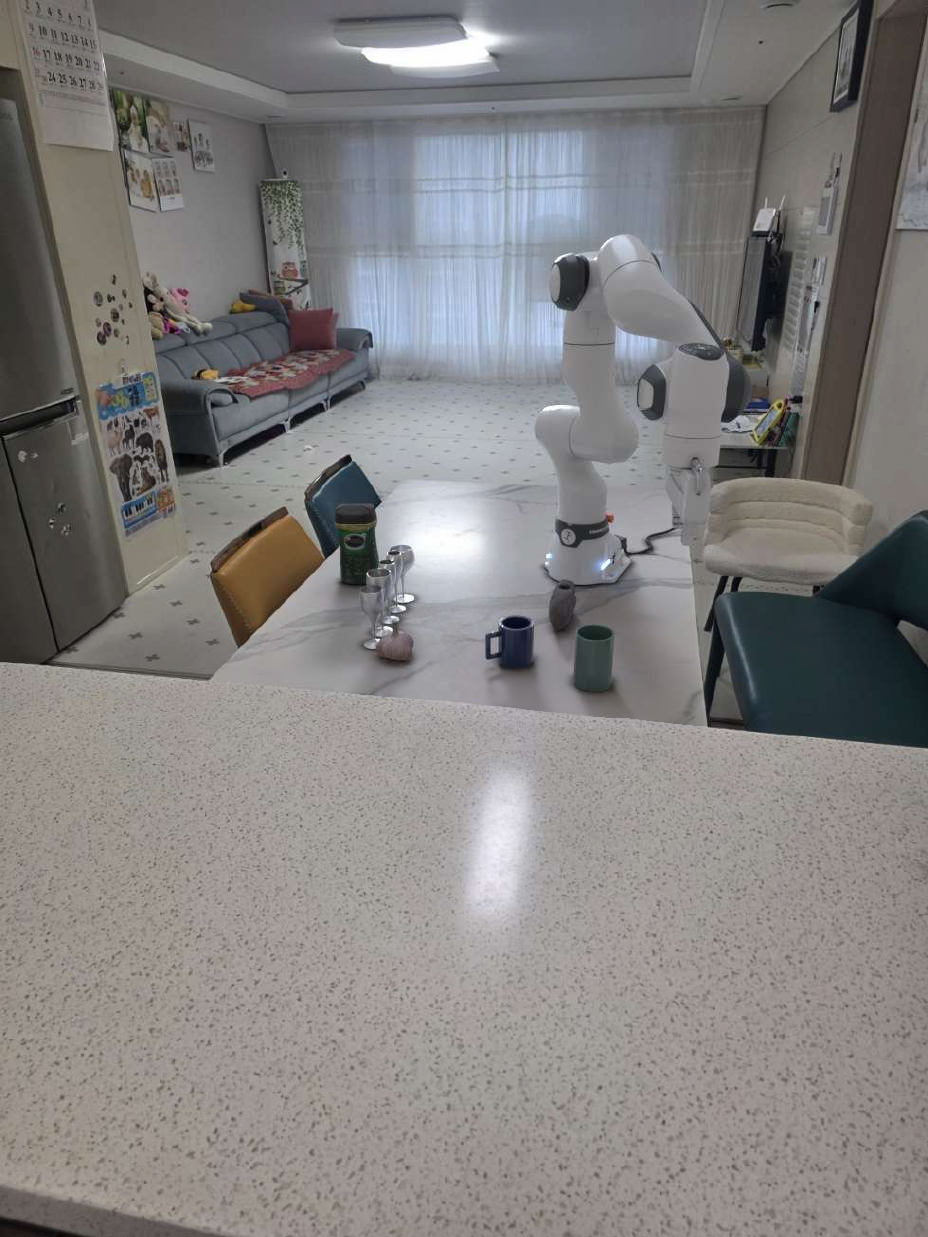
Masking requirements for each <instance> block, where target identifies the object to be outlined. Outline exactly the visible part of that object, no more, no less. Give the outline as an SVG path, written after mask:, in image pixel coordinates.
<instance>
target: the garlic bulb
mask: <svg viewBox="0 0 928 1237" xmlns="http://www.w3.org/2000/svg"><path fill="white" fill-rule="evenodd" d="M398 623H399V621H397V620H392V624H391V626H392V627H391V628H392V629H393V633H391V634H389V635H385V636H383V637H379V639H380V640H379V641H378V643H377V645H376V649H375V652H376V654H377V655H378V656H379V657H383V658H385V659H390V660H395V661H408V660H410V659H411V658H412V656H413V648H414V638H413V637H412V635H410V634H409V633H407V632H405V631H402V630H399V624H398Z"/></svg>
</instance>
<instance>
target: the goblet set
mask: <svg viewBox="0 0 928 1237" xmlns="http://www.w3.org/2000/svg"><path fill="white" fill-rule="evenodd" d="M415 561H416V558H415V553H414V551H413V548H412V546H410V545H407V544H397V545H393V546H391V547H390V549H389V551H387V553H386V559H381V560H379V566H378V569H374V570H371V571H369V572H368V573H367V579H366V583H367V584H366V585H365V586H363V587H361V588H360V589H359V596H358V597H359V604H360V607H361V609H362V611H363V612H364V614H365V615H366V616H367V617H368V619H369V620H370V624H371V627H372V630H371V635H372V636H373V638H372V639H368V640H366V641H364V643H363V647H364V648H366V649H369V650H376V645H377V643H378V641H379V640H380V638H382V637H383V636H385V635H389V634H391V633H393V628H392V627H390V626H384V624H385V625H392V620H397V621H398V622H400V618H399V617H398V616H395V615H392V614H391V613H393V614H400V613H403V612H405V611H406V610H407V607H406V606H405V605H399V604H407V603H411V602H413V601H414V600H415V597H414V596H413V595H411V594H405V578H406V575H407V574H408V572H409V571H411V569H412V568H413V567H414V565H415ZM399 580H400V581H401V590H402V594H398V586H399V585H398V584H399ZM393 589H394V595H395V596H393V601H394V602H395V605H392V606H391V597H392V596H391V595H392V591H393ZM386 602H387V606H388V609H387V610H388V615H386V616H384V606H385V604H386ZM379 615H380V625H381V626H378V627H376V621H377V618H378V617H379ZM376 637H377V638H376Z"/></svg>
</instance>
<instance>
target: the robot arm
mask: <svg viewBox="0 0 928 1237" xmlns="http://www.w3.org/2000/svg"><path fill="white" fill-rule="evenodd" d="M548 279H549V280H548V288H549V293H550V298H551V301H552V303H553V304H554V306H555V307H556V308H557V309H559V310H562V311H565V317H564V324H563V333H562V334H563V335H562V363H561V378H562V381H563V383H564V385H565V386H566V387H567V388H568V389H569V390H570V391H571V392H572V394H573V395H574V397H575V399H576V401H577V404H578V406H577V405H570V404H557V405H549V406H546V407H545V408H543V409H542V410H541V411H540V413H539V414H538V416H537V417H536V420H535V422H534V423H535V424H534V437H535V439H536V442H537V444H538V445H539V446H540V447H541V448H542V449H543V450H544V452H545V453H546V455H547V457H548V459H549V461H550V463H551V466H552V468H553V472H554V476H555V479H556V485H557V486H556V487H557V515H556V516H555V521H554V531H555V533H554V534H553V535H552V536H551V538H550V544H549V545H550V546H549V553H548V554H546V559H548V560H547V561H545V562H544V568H545V569H546V570H547V571H548V575H549V577H550V578H552V579H553V580H555V581H557V582H560V581H561V580H563V579H567V580H570V581H573V583H574V585H575V586H576V585H577V586H587V585H596V584H615V583H616V581H617V580H618V579H620V577H621V576H622V574H623V573H624V572H625V570H626V569H627V568H628V567H629V566H630V564H631V558H629V557H628V556H633V555H642V554H646V553H648V552H649V551H652V549H653V547H654V546H653V544H652V542H651V541H650V539H651V538H655V537H659V536H663V535H666V534H669V533H671V532H673V531H676V530H678V529H679V530H680V529H681V530H682V531H681V533H680V543H681V545H682V546H683V547H691V546H693V545H694V540H695V535H696V532H697V529H698V525H701V526H702V525H705V524H707V521H708V518H709V511H710V500H711V499H710V498H711V497H710V496H711V477H710V468H714V467H716V466H718V465H719V461H720V451H721V445H722V444H721V443H722V434H723V430H722V424H730V423H731V422H733V421H734V420H735V419H737V418H739V416H740V415H741V414H742V413H744V411H745V410H746V409H747V407H748V405H749V404H750V402H751V399H752V394H753V384H752V379H751V377H750V374H749V372H748V371H747V369H746V367H745V366H744V365H743V364H742V363H741V361H739V360H738V359H737V358H735V357H734V356H733V355H732V354H731V352H730V351H729V350H728V349H727V347H726V345H725V344H724V343H723V341H722V339H721V338H720V337H719V336H718V334H717V333H716V331H715V330H714V328H713V326H712V325H711V324H710V322H709V321H708V320H707V318H706V316H704V314H703V313H702V311H701V310H700V309H699V307H697V305H696V304H694V303H693V302H692V301H691V300H689V299H688V298H687V297H685V296H684V295H682V294H681V293H680V292H679V291H677V290H676V289H675V288H674V287H673V286H672V285H671V284H670V283H669V281H668V280H667V279H666V278H665V276H664V274H663V273H662V266H661V262H660V260H659V259H658V257H657V255H656V254H655V253H653V252H652V251H650V250H649V248H648V247H647V245H646V244H645V243H644V242H643V241H642V240H641V238H639V237H637V236H635V235H633V234H628V233H623V234H622V233H621V234H618V235H615V236H613V237H610V238H609V239H608V240H607V241H606V242H605V243H604V244H603V245H602V246H601V247H600V249H599V250H597V251H596V250H595V251H586V252H581V253H577V252H575V251H574V252H569V253H566V254H563V255H560V256H558V257H557V258H556V260H555V261H554V262H553V264H552V266H551V269H550V273H549V278H548ZM617 328H618V329H619V330H621V331H622V332H625V333H627V334H629V335H633V336H638V337H644V338H650V339H655V340H660V341H664V342H668V343H671V344H672V345H675V346H677V347H676V348H675V350H674V352H673V353H672V354H673V355H672V356H671V357H669V358H668V359H666V360H663V361H661V362H657V363H653V364H651V365H649V366H648V367H646V369H645V370H644V371H643V373H642V374H641V375H640V377H639V379H638V382H637V386H636V387H637V389H636V406H637V408H638V410H639V412H640V413H641V414H642V415H643V416H644V417H645V418H646V419H647V420H648V421H652V422H656V423H665V427H664V431H663V439H662V449H661V450H662V451H661V460H660V461H661V463H662V464H664V487H665V494H666V495H667V497H668V499H669V501H670V503H671V526H672V527H671V528H669V529H666V530H663V531H660V532H654V533H651V534H648V535H647V536H646V537H645V542H646V544H647V545H648V546H649V547H647V548H644V549H642V550H640V551H636V552H630V551H628V543H627V542H628V539H627V537H625V536H622V535H618V534H615V533H612V532H611V531H610V524H613V523H614V520H615V514H612V513H607V500H608V486H607V483H606V480H604V478H603V477H602V476H601V475H600V473H598V472H597V469H595V466H594V464H593V462H596V463H600V464H620V463H621V464H622V463H625V462H627V461H628V460H629V459H631V458H632V456H633V455H634V454H635V452H636V451H637V448H638V445H639V441H640V433H639V428H638V425H637V423H636V421H634V420H633V418H632V417H631V416H630V415H629V413H628V412H627V411H626V410H625V408H624V405H623V404H622V403H623V402H622V401H621V398H620V396H619V393H618V389H617V385H616V374H615V372H616V370H615V369H616V366H615V365H616V343H617V342H616V341H617V340H616V339H617ZM622 550H623V553H624V554H625V555H627V556H625V555H623V554H622Z"/></svg>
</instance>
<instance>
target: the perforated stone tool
mask: <svg viewBox="0 0 928 1237" xmlns="http://www.w3.org/2000/svg"><path fill="white" fill-rule="evenodd" d="M576 593H577V591H576V584H574V583H573V581H570V580H567V579H563V580H561V581H558V583H557V584H556V586H555V587H554V589H553V591H552V594H551V596H550V599H549V604H548V615H549V616H548V617H549V622H550V625H551V626H552V628H553V629H554V630H555V631H561V630H562V629H564V628H565V627H566V626H567V625H569V622H570V620H571V619H572V617H573V614H574V611H575V609H576V606H577V602H578V599H577V596H576Z"/></svg>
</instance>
